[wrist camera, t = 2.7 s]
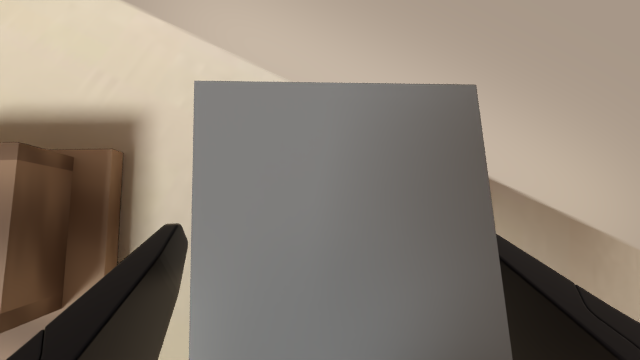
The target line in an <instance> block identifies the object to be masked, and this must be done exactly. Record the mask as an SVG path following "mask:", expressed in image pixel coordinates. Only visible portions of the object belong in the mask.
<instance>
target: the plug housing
mask: <svg viewBox="0 0 640 360" xmlns="http://www.w3.org/2000/svg"><path fill="white" fill-rule="evenodd" d="M478 104H479V103H478V97H477V89H476V85H458V84H457V85H455V84H386V83H385V84H384V83H381V84H380V83H314V82H313V83H312V82H242V81H194V128H193V179H192V230H191V281H190V332H189V360H513V358H512V351H511V343H510V336H509V328H508V321H507V313H506V306H505V298H504V291H503V283H502V276H501V268H500V261H499V253H498V246H497V238H496V231H495V223H494V216H493V208H492V201H491V193H490V186H489V178H488V171H487V163H486V156H485V148H484V141H483V134H482V126H481V119H480V111H479V105H478Z"/></svg>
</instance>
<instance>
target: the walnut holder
mask: <svg viewBox="0 0 640 360" xmlns="http://www.w3.org/2000/svg"><path fill="white" fill-rule="evenodd" d="M122 165H123V153H122V152H119V151H116V150H114V149H69V150H45V149H42V148H38V147H34V146H31V145H27V144H23V143H20V142H6V143H0V360H6V359H7V358H8V357H10V356H11V355H12V354H13V353H14V352H16V351H17V350H18V349H19V348H20V347H22V346H23V345H24V344H25V343H26V342H28V341H29V340H30V339H31V338H32V337H33V336H35V335H36V334H37V333H38V332H39V331H41V330H43V329H45V327H46V326H47V325H48V324H49V323H50V322H51V321H52V320H54V319H55V318H56V317H57V316H58V315H59V314H61V313H62V312H63V311H64V310H65V309H66V308H68V307H69V306H70V305H71V304H72V303H73V302H75V301H76V300H77V299H78V298H79V297H80V296H82V295H83V294H84V293H85V292H86V291H88V290H89V289H90V288H91V287H92V286H93V285H95V284H96V283H97V282H98V281H99V280H100V279H102V278H103V277H104V276H105V275H106V274H107V273H109V272H110V271H111V270H112V269H113V268H114V267H116V266H117V254H118V236H119V218H120V200H121V183H122Z"/></svg>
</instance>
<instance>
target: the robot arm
mask: <svg viewBox="0 0 640 360" xmlns="http://www.w3.org/2000/svg"><path fill="white" fill-rule="evenodd" d="M496 238H497V246H498V253H499V261H500V268H501V276H502V283H503V291H504V298H505V306H506V313H507V321H508V328H509V336H510V343H511V351H512V358H513V360H640V323H639V322H637V321H635V320H634V319H632V318H630V317H628V316H627V315H625V314H623V313H622V312H620V311H618V310H616V309H615V308H613V307H611V306H610V305H608V304H607V303H605V302H603V301H602V300H600V299H599V298H597V297H595V296H594V295H592V294H590V293H589V292H587V291H586V290H584V289H583V288H581V287H579V286H578V285H575V284H574V283H573V282H571V281H570V280H568V279H567V278H565V277H564V276H562V275H560V274H559V273H557V272H556V271H554V270H553V269H551V268H549V267H548V266H546V265H545V264H543V263H542V262H540V261H538V260H537V259H535V258H534V257H532V256H530V255H529V254H527V253H526V252H524V251H523V250H521V249H519V248H518V247H516V246H515V245H513V244H512V243H510V242H508V241H507V240H505V239H504V238H502V237H500V236H499V235H497V234H496ZM187 248H188V241H187V238H186V235H185V233H184V231H183V228H182V226H181V225H180V224H178V223H176V224H166V225H164V226H162V227H161V228H160V229H159V230H158V231H157V232H155V233H154V234H153V235H152V236H151V237H150V238H148V239H147V240H146V241H145V242H144V243H143V244H141V245H140V246H139V247H138V248H137V249H136V250H134V251H133V252H132V253H131V254H130V255H129V256H127V257H126V258H125V259H124V260H123V261H121V262H120V263H119V264H118V265H117V266H116V267H114V268H113V269H112V270H111V271H110V272H109V273H107V274H106V275H105V276H104V277H103V278H102V279H100V280H99V281H98V282H97V283H96V284H95V285H93V286H92V287H91V288H90V289H89V290H88V291H86V292H85V293H84V294H83V295H82V296H80V297H79V298H78V299H77V300H76V301H75V302H73V303H72V304H71V305H70V306H69V307H68V308H66V309H65V310H64V311H63V312H62V313H61V314H59V315H58V316H57V317H56V318H55V319H54V320H52V321H51V322H50V323H49V324H48V325H47V326H46V327H45V329H43V330H41V331H39V332H38V333H37V334H36V335H35V336H33V337H32V338H31V339H30V340H29V341H28V342H26V343H25V344H24V345H23V346H22V347H20V348H19V349H18V350H17V351H16V352H14V353H13V354H12V355H11V356H10V357H8V358H7V359H6V360H158V357H159V354H160V351H161V348H162V345H163V341H164V338H165V335H166V332H167V329H168V326H169V322H170V319H171V316H172V313H173V310H174V307H175V303H176V300H177V297H178V293H179V289H180V284H181V279H182V274H183V269H184V263H185V258H186V253H187Z"/></svg>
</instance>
